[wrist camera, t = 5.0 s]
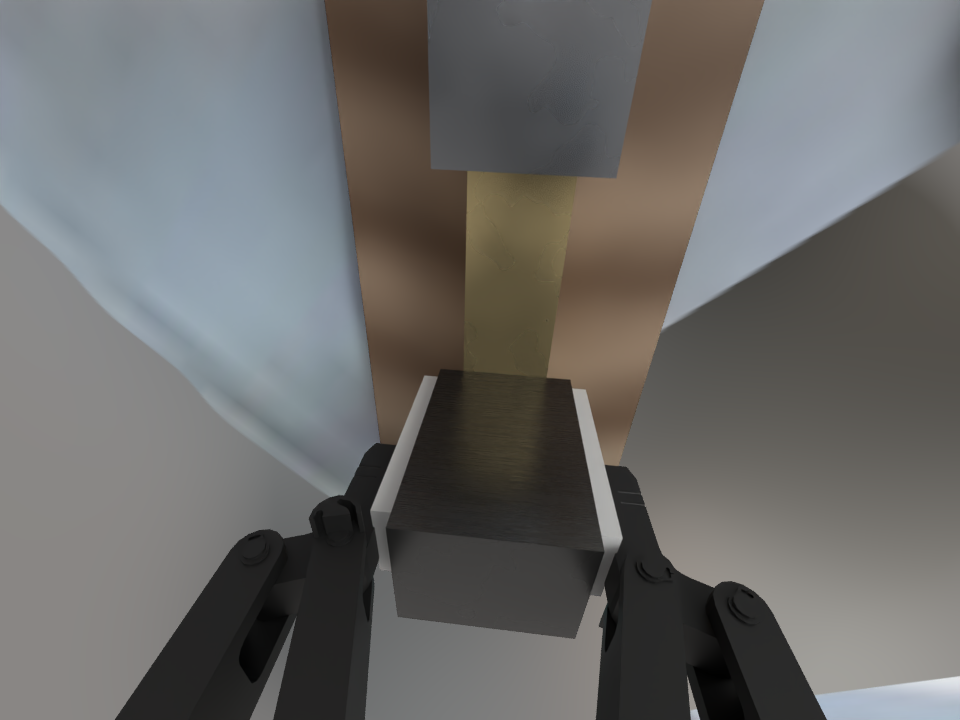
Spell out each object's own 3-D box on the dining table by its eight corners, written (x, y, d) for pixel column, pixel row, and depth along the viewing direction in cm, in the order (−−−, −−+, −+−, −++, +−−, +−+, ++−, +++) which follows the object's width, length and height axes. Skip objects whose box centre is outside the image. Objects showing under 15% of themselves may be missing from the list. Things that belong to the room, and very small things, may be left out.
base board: (306, -252, 11) (288, -285, 10) (828, -259, 10) (857, -296, 9) (387, 452, 25) (383, 463, 24) (608, 474, 24) (612, 486, 23)
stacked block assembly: (368, -222, 10) (187, -641, 5) (752, -226, 10) (1066, -714, 4) (414, 467, 24) (381, 569, 18) (578, 483, 23) (596, 594, 17)
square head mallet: (453, 57, 12) (294, -124, 4) (609, 63, 12) (834, -120, 3) (452, 458, 22) (406, 677, 13) (541, 467, 21) (554, 697, 13)
